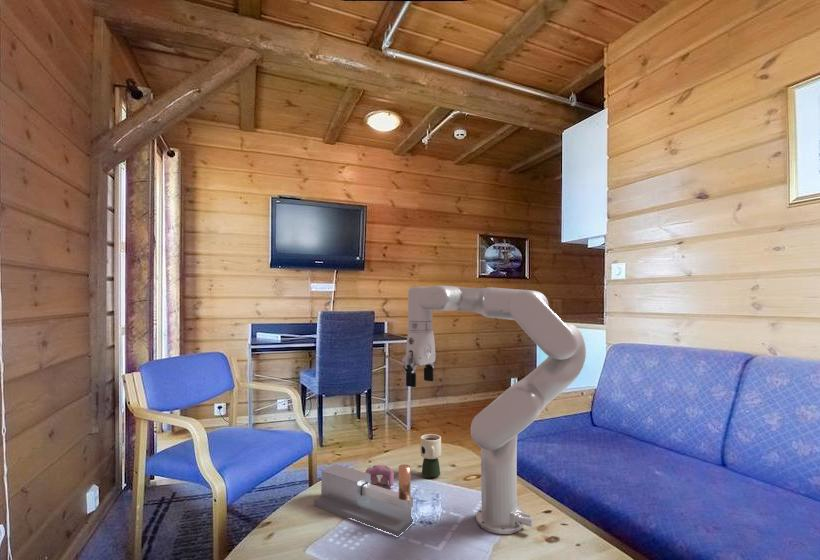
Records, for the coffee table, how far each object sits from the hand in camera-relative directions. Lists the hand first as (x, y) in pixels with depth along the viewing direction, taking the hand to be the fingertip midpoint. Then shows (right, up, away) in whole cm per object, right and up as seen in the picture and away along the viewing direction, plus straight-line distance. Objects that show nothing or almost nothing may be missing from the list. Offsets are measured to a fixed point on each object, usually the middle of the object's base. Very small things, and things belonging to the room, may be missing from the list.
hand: (420, 383), depth 123 cm
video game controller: (-13, -36, +9) cm, 39 cm away
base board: (-15, -35, -7) cm, 39 cm away
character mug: (+4, -36, +16) cm, 40 cm away
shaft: (-11, -30, -9) cm, 33 cm away
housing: (-22, -33, -3) cm, 40 cm away
